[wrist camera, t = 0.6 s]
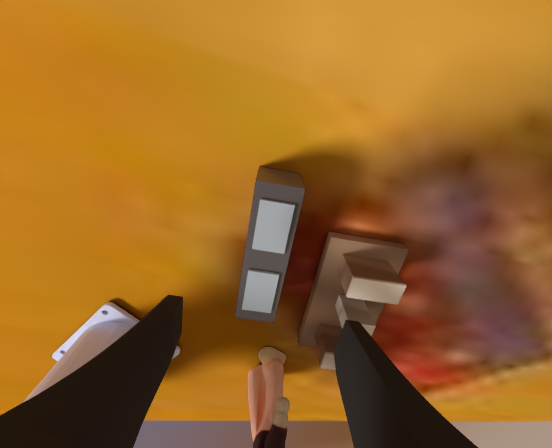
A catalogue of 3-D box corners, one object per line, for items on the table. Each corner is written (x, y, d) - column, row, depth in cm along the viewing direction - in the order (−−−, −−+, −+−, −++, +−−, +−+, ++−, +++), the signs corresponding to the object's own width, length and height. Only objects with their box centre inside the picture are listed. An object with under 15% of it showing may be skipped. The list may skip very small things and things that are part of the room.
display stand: (359, 344, 24) (374, 385, 21) (297, 336, 24) (302, 376, 20) (403, 243, 20) (431, 273, 16) (328, 231, 20) (341, 259, 16)
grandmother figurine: (250, 337, 24) (227, 549, 13) (290, 339, 24) (306, 550, 13) (247, 391, 27) (228, 599, 16) (284, 392, 27) (291, 600, 16)
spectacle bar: (273, 287, 22) (273, 324, 18) (241, 282, 22) (234, 319, 18) (299, 172, 18) (305, 189, 14) (259, 165, 18) (255, 181, 14)
